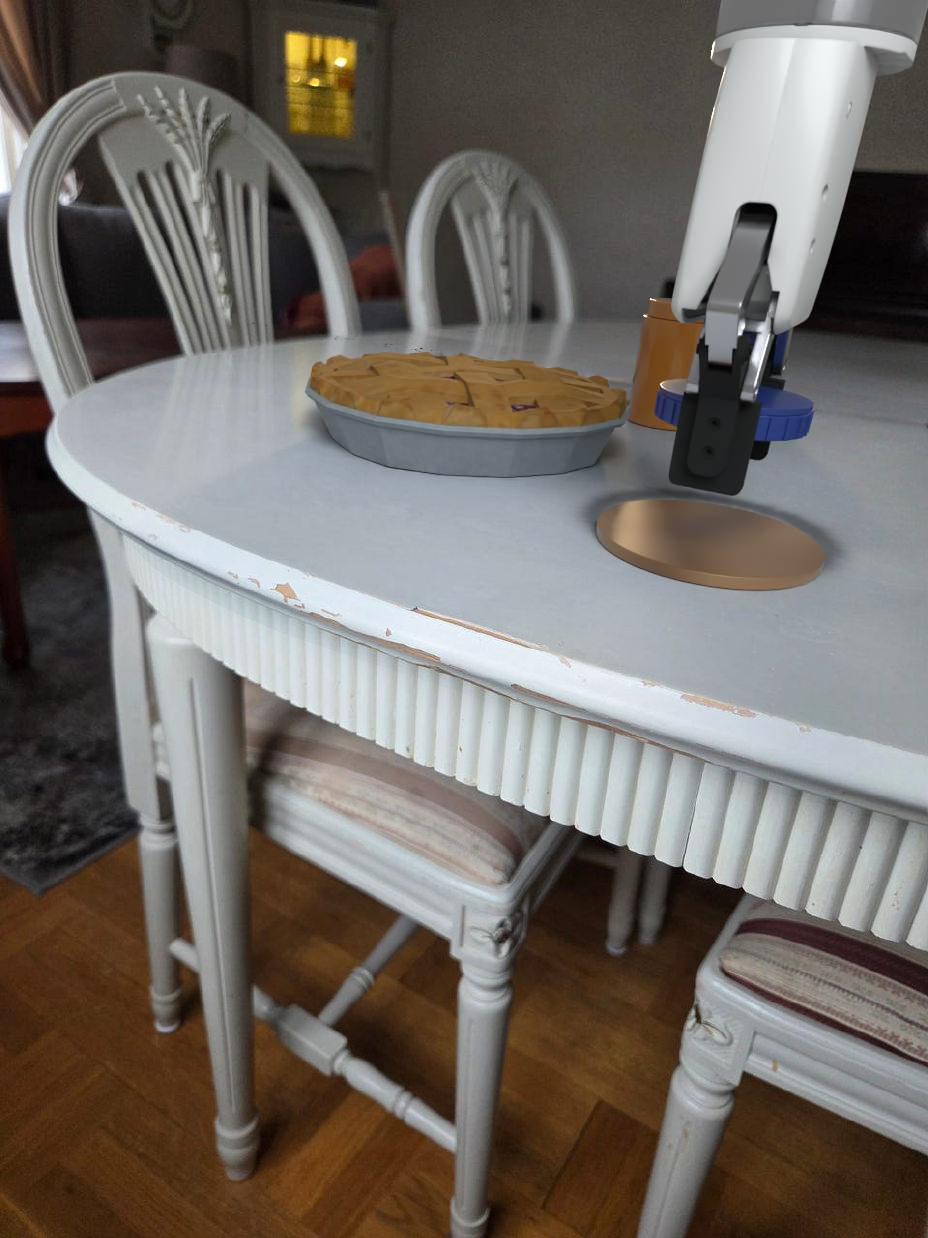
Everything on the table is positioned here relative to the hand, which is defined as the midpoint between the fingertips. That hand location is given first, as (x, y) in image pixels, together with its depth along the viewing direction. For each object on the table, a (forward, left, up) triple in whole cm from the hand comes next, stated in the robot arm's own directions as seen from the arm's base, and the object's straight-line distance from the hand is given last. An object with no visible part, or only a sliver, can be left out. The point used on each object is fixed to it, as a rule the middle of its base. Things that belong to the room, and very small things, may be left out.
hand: (720, 467), depth 39 cm
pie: (+19, -11, -4) cm, 22 cm away
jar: (+9, -28, -4) cm, 30 cm away
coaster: (0, 0, -4) cm, 4 cm away
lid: (0, 0, +3) cm, 3 cm away
